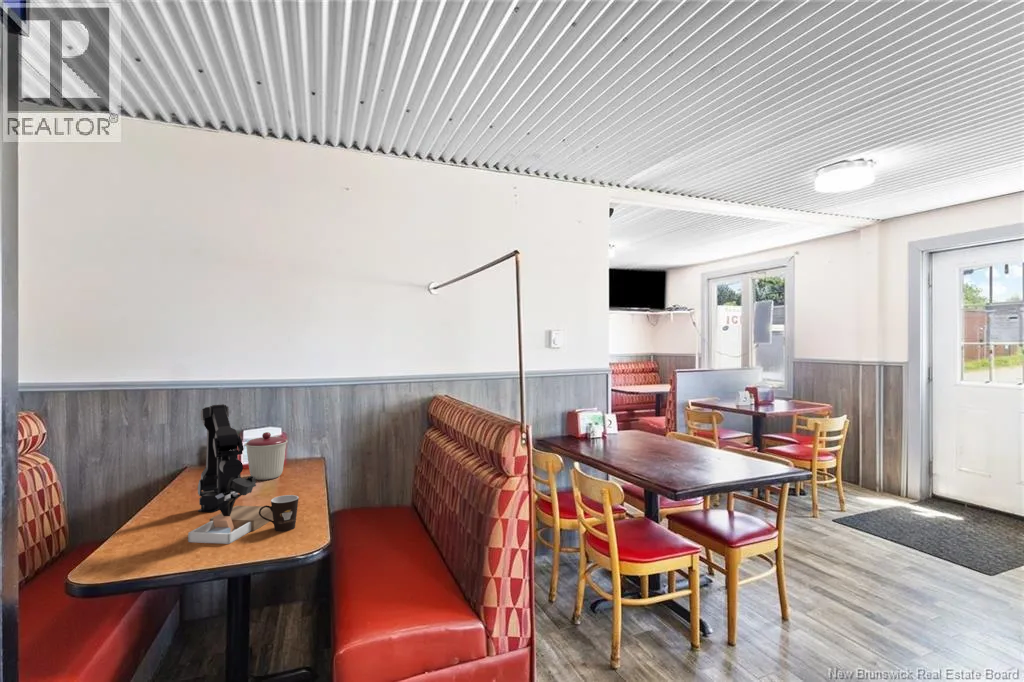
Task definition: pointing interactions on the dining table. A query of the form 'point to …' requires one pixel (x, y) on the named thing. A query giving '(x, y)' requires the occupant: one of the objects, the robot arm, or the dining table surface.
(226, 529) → the slate tile
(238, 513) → the walnut board
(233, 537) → the tray
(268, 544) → the dining table surface
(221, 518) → the terracotta tile
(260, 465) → the canister
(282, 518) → the coffee mug
